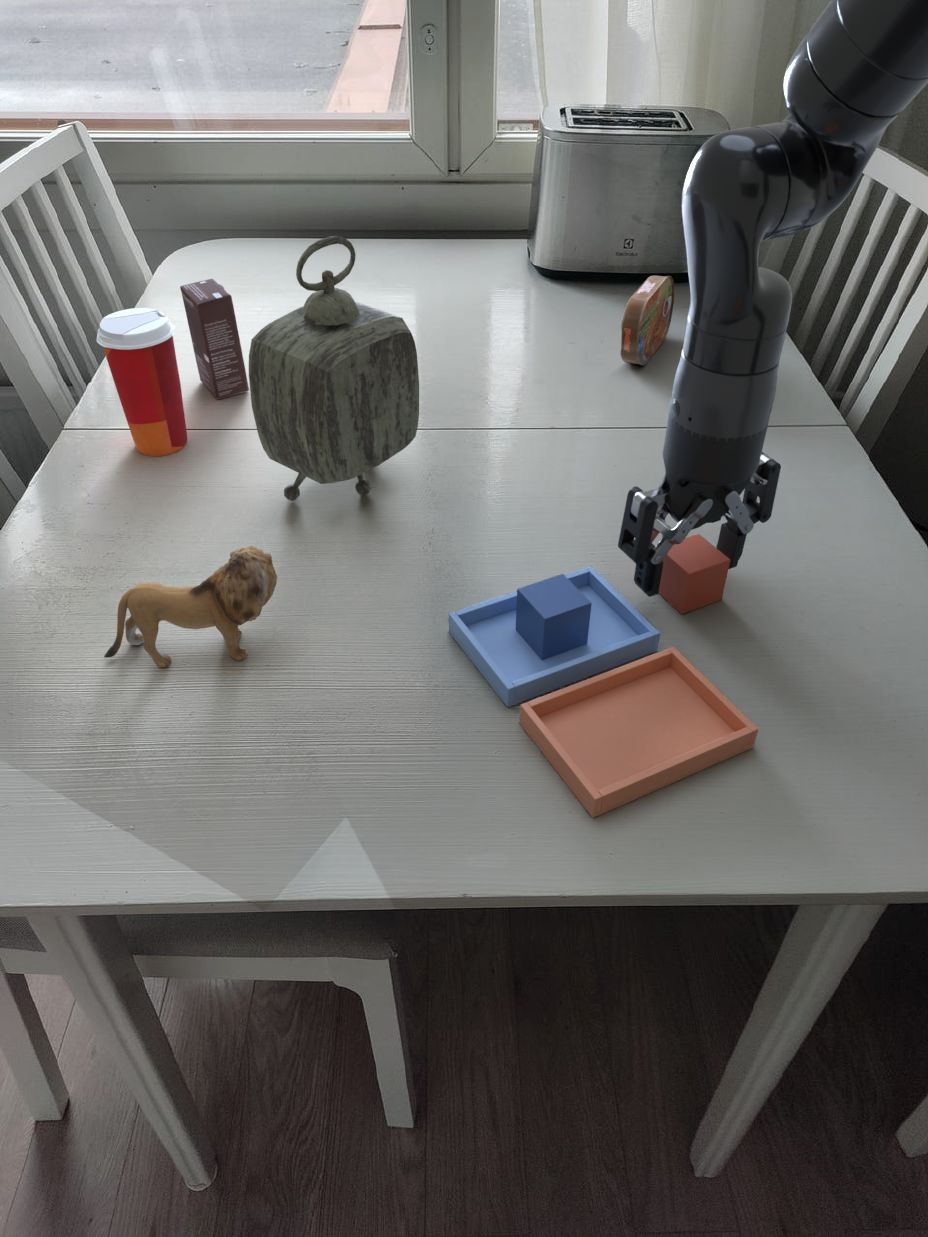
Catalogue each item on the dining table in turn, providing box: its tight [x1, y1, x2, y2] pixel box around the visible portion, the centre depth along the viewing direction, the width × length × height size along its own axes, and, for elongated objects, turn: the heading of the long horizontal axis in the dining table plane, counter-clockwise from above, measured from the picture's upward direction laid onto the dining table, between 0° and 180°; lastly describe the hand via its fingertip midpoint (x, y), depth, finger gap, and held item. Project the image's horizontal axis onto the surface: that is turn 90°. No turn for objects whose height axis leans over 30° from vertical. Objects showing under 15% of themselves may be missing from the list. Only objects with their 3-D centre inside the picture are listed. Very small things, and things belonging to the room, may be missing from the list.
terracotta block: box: [658, 533, 730, 615], centre depth 84 cm, size 4×4×4 cm
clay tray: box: [518, 646, 759, 819], centre depth 71 cm, size 14×10×2 cm
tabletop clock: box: [248, 235, 420, 501], centre depth 90 cm, size 14×9×25 cm, turn 141°
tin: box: [619, 275, 675, 366], centre depth 121 cm, size 15×3×8 cm, turn 154°
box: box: [179, 278, 250, 400], centre depth 112 cm, size 6×4×12 cm
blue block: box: [516, 573, 592, 660], centre depth 78 cm, size 4×4×4 cm
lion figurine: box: [103, 545, 278, 668], centre depth 77 cm, size 15×5×9 cm, turn 104°
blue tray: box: [448, 566, 661, 708], centre depth 79 cm, size 14×10×2 cm
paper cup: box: [95, 307, 188, 457], centre depth 101 cm, size 8×8×14 cm
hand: (686, 576), depth 84 cm, fingers open, 8 cm apart
